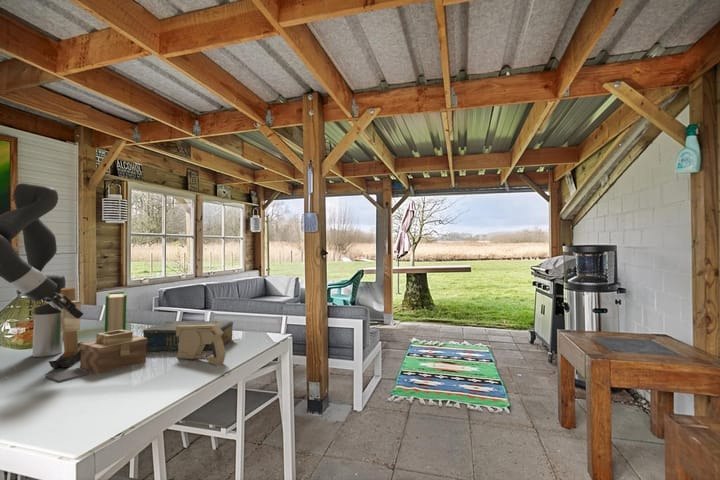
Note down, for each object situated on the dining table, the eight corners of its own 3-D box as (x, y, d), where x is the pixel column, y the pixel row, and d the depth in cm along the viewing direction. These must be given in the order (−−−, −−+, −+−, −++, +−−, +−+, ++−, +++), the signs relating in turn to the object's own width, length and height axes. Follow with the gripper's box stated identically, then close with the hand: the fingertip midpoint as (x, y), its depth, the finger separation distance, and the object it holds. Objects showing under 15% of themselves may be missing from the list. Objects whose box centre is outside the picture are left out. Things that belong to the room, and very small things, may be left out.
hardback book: (124, 350, 150) (126, 295, 151) (103, 352, 146) (105, 296, 147) (124, 341, 165) (126, 291, 166) (105, 343, 160) (107, 292, 161)
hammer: (66, 375, 125) (61, 296, 121) (49, 376, 123) (44, 296, 119) (90, 350, 144) (86, 281, 140) (75, 351, 142) (72, 281, 138)
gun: (227, 363, 131) (225, 324, 132) (220, 366, 128) (218, 325, 129) (183, 361, 141) (181, 324, 142) (176, 363, 138) (174, 326, 139)
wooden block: (60, 331, 118) (61, 301, 118) (74, 328, 122) (75, 300, 122) (65, 332, 116) (66, 302, 117) (79, 330, 120) (80, 301, 120)
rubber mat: (45, 377, 117) (46, 375, 117) (77, 369, 125) (77, 367, 125) (58, 382, 112) (58, 380, 112) (90, 374, 120) (90, 372, 120)
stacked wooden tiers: (78, 367, 127) (80, 334, 127) (127, 355, 141) (128, 326, 142) (98, 374, 119) (99, 339, 120) (147, 361, 134) (148, 330, 134)
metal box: (167, 340, 167) (168, 320, 168) (234, 340, 168) (234, 320, 168) (140, 353, 146) (141, 329, 147) (216, 352, 147) (217, 329, 147)
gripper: (53, 275, 110) (96, 308, 120) (36, 274, 117) (77, 305, 127) (31, 294, 105) (77, 326, 115) (14, 291, 112) (59, 322, 122)
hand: (77, 315), depth 121 cm, fingers closed on wooden block, 4 cm apart
